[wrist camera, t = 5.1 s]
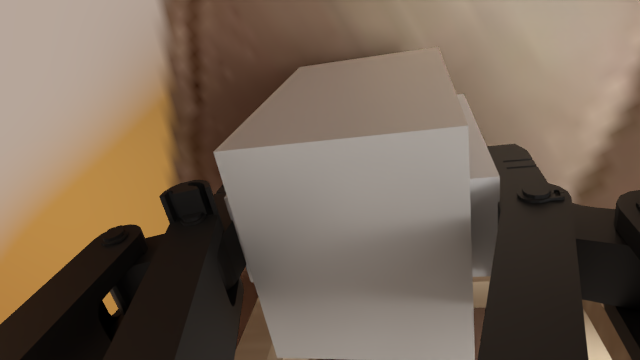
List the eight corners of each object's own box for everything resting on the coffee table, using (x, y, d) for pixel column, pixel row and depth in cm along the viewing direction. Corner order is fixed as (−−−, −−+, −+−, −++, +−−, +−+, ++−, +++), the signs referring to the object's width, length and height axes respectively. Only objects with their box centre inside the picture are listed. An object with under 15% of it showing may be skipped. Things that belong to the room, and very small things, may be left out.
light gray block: (299, 67, 16) (213, 151, 9) (438, 46, 14) (467, 125, 7) (326, 205, 18) (276, 357, 11) (446, 198, 17) (475, 362, 10)
